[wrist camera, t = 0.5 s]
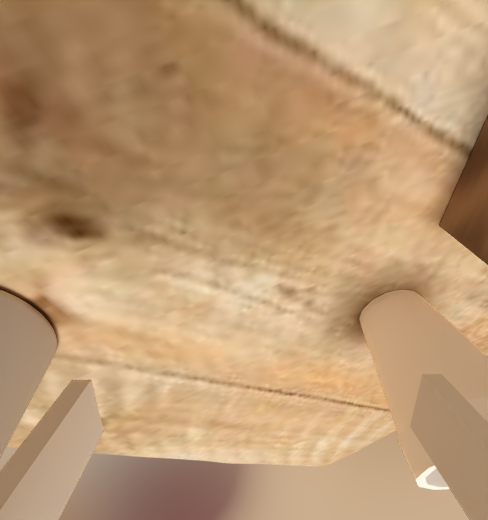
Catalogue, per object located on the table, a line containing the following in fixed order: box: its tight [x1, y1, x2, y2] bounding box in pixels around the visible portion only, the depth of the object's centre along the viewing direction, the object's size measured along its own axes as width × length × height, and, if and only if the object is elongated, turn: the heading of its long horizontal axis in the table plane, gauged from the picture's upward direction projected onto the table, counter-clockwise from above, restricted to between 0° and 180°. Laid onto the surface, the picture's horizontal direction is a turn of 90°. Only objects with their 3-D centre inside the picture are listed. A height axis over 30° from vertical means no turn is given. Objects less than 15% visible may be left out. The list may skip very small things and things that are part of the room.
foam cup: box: [359, 289, 488, 490], centre depth 23 cm, size 10×9×13 cm
